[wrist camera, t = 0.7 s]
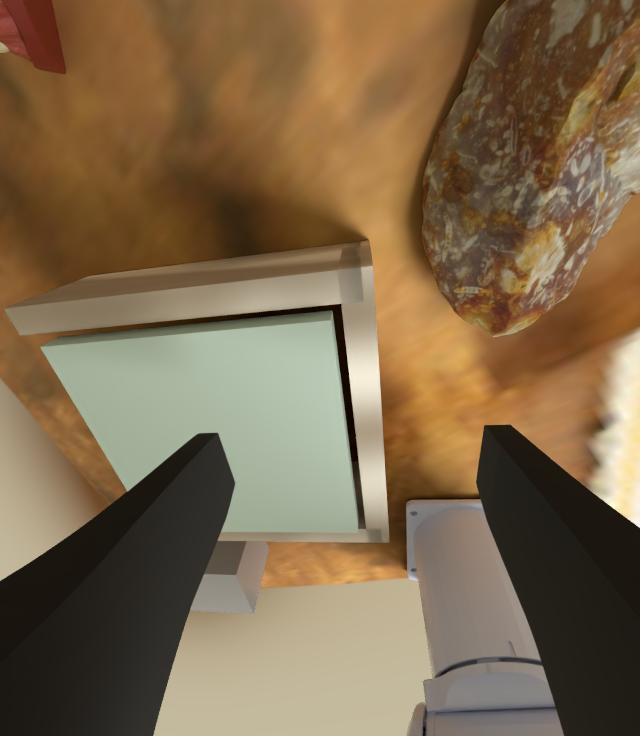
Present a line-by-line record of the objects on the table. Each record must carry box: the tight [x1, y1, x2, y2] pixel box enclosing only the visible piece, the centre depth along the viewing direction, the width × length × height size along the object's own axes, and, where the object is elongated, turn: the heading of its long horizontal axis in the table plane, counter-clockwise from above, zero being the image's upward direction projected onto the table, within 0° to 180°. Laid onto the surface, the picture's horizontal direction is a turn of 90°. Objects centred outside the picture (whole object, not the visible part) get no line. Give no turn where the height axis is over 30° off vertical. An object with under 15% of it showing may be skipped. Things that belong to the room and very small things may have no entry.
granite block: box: [190, 541, 269, 614], centre depth 26 cm, size 5×5×5 cm
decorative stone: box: [422, 0, 640, 337], centre depth 12 cm, size 10×4×15 cm
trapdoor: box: [40, 311, 358, 533], centre depth 16 cm, size 12×12×1 cm
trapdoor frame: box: [3, 240, 390, 543], centre depth 18 cm, size 15×15×5 cm
